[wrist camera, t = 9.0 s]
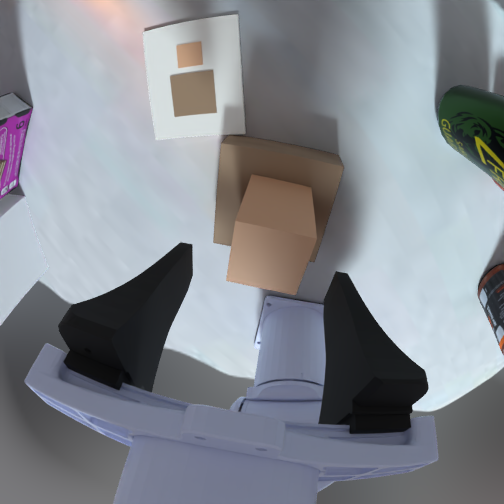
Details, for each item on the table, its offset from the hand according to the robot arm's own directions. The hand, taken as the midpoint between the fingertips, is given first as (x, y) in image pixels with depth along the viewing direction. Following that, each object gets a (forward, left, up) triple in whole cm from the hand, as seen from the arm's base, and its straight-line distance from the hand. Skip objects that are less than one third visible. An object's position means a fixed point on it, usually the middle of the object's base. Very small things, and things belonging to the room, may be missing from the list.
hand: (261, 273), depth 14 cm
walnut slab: (0, 0, -10) cm, 10 cm away
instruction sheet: (+8, +7, -10) cm, 14 cm away
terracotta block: (0, 0, -7) cm, 7 cm away
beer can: (+10, -13, -10) cm, 19 cm away
